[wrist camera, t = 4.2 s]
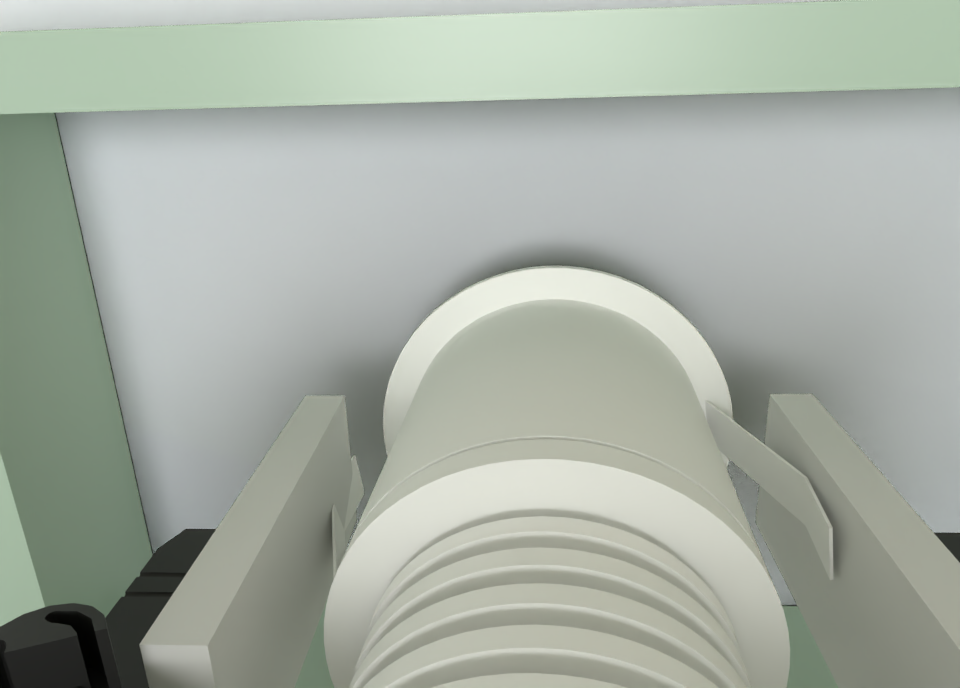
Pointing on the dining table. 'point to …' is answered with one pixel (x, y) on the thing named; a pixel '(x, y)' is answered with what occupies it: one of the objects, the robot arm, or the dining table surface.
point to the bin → (327, 81)
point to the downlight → (561, 504)
